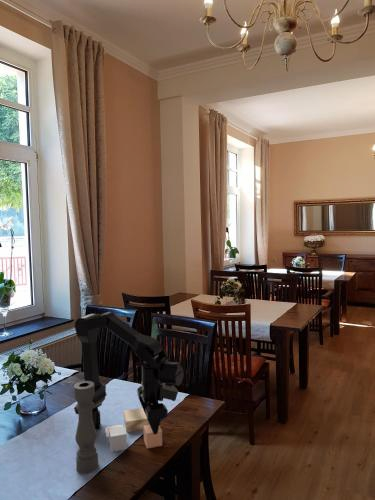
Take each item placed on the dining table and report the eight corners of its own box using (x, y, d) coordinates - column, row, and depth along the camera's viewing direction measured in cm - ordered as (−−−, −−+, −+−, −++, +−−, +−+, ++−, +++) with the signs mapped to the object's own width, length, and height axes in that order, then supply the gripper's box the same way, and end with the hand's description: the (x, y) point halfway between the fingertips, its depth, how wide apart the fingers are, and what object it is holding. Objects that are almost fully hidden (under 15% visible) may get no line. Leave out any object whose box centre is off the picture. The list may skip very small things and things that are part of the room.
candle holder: (87, 476, 112) (83, 391, 110) (71, 469, 115) (68, 386, 113) (102, 464, 117) (99, 383, 115) (87, 458, 120) (84, 378, 118)
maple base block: (126, 432, 135) (126, 421, 134) (124, 421, 142) (123, 410, 142) (149, 429, 136) (149, 418, 136) (146, 418, 144) (145, 407, 144)
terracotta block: (146, 448, 125) (146, 433, 124) (143, 440, 130) (143, 425, 129) (162, 445, 126) (161, 430, 126) (158, 437, 131) (158, 423, 131)
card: (106, 437, 131) (106, 436, 131) (104, 428, 137) (104, 427, 137) (124, 434, 133) (124, 433, 133) (122, 425, 139) (122, 424, 139)
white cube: (111, 452, 123) (110, 436, 123) (109, 443, 128) (108, 428, 128) (127, 448, 125) (126, 433, 124) (124, 440, 130) (124, 425, 129)
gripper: (183, 388, 120) (184, 437, 121) (168, 366, 137) (169, 409, 139) (147, 393, 116) (148, 444, 118) (136, 370, 134) (137, 414, 135)
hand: (152, 426), depth 127 cm, fingers open, 9 cm apart
